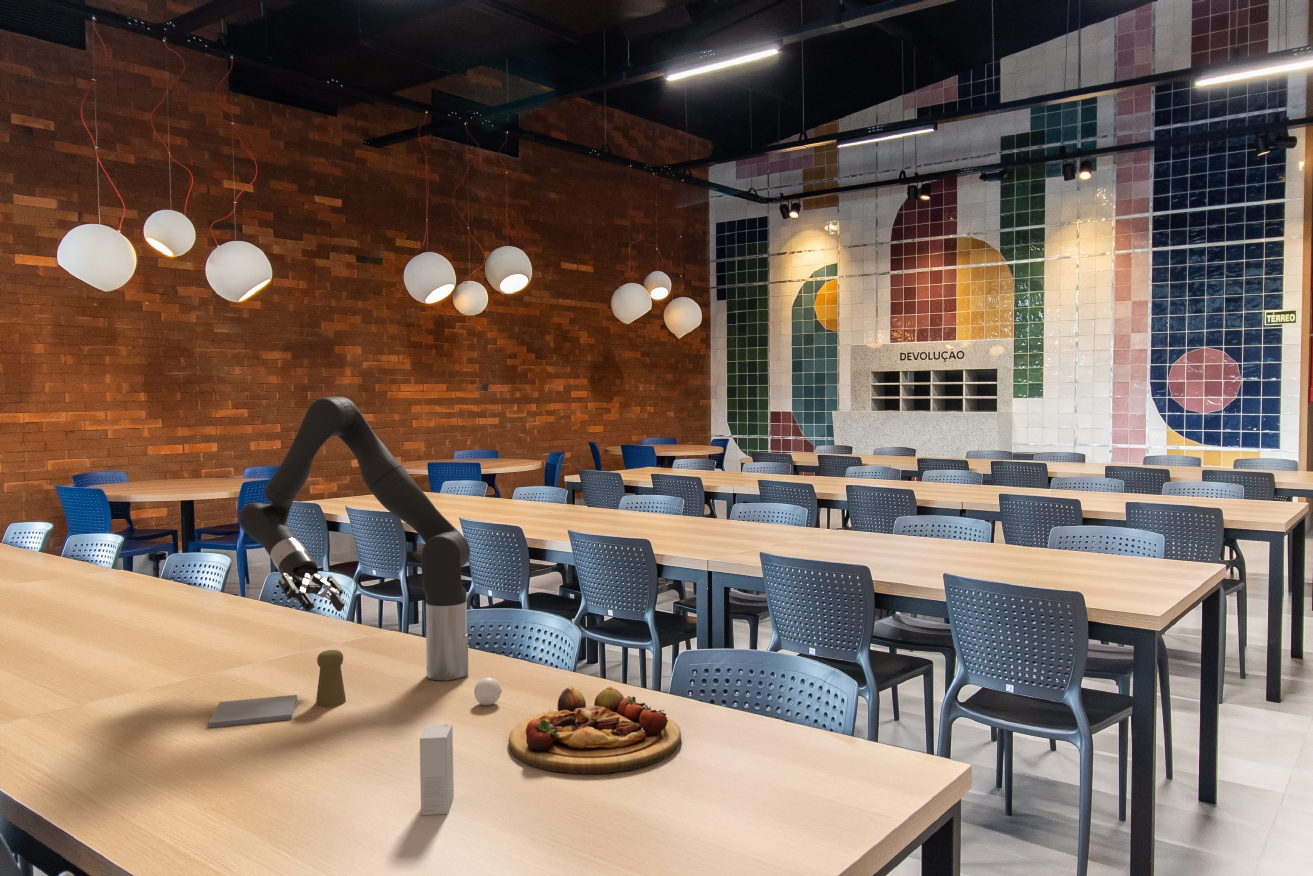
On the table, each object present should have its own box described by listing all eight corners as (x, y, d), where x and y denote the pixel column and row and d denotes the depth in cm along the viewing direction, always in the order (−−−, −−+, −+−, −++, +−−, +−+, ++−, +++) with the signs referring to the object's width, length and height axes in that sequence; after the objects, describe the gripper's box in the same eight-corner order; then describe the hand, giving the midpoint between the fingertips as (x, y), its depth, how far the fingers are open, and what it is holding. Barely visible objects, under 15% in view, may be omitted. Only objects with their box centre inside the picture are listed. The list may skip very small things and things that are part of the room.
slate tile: (297, 699, 189) (297, 694, 189) (291, 719, 176) (291, 714, 176) (219, 706, 184) (219, 702, 184) (208, 727, 172) (208, 722, 172)
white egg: (495, 710, 182) (495, 683, 181) (469, 708, 183) (469, 681, 182) (509, 698, 189) (508, 672, 189) (484, 696, 190) (484, 670, 190)
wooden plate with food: (544, 792, 143) (543, 742, 142) (487, 730, 171) (486, 688, 171) (713, 756, 157) (713, 711, 157) (634, 704, 186) (634, 665, 185)
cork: (335, 708, 183) (335, 655, 183) (309, 706, 184) (308, 654, 184) (351, 698, 189) (350, 648, 189) (326, 697, 190) (325, 646, 190)
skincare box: (426, 798, 140) (426, 724, 139) (454, 797, 140) (453, 723, 140) (419, 816, 134) (418, 738, 133) (448, 815, 134) (447, 737, 134)
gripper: (275, 547, 198) (308, 595, 190) (326, 551, 210) (360, 596, 202) (258, 573, 199) (291, 621, 191) (310, 575, 212) (343, 621, 204)
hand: (326, 608), depth 197 cm, fingers open, 8 cm apart
